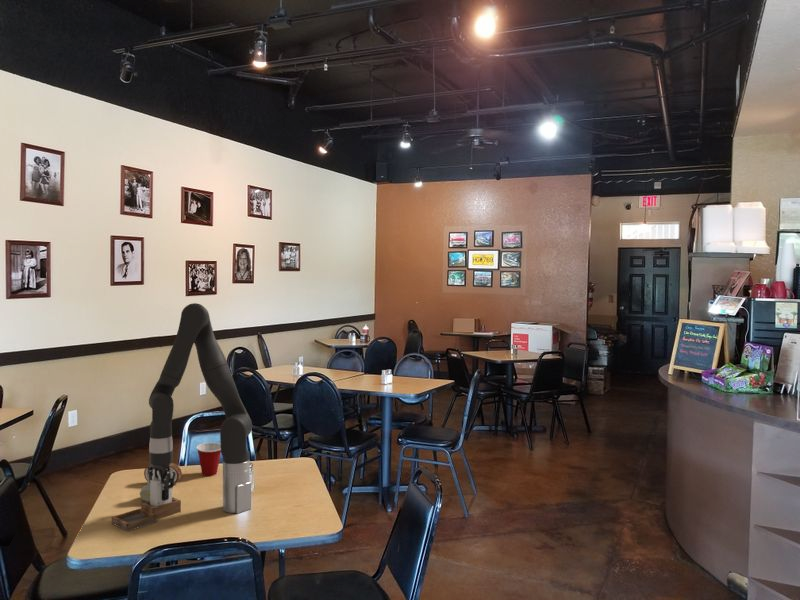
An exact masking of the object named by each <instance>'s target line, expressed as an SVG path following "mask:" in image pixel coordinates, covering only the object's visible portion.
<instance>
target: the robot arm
mask: <svg viewBox="0 0 800 600" xmlns="http://www.w3.org/2000/svg"><path fill="white" fill-rule="evenodd" d="M210 317H211V316H210V313H209V311H208V310H207V308H206V307H205V306H204V305H202V304H200V303H197V302H196V303H195V302H194V303H190V304H188V305H186V306H185V307H184V308H183V309H182V311H181V315H180V320H179V325H178V329H177V333H176V337H175V339H174V342H173V345H172V346H171V349H170V352H169V354H168V356H167V358H166V361H165V363H164V366H163V367H162V371H161V373H160V376H159V378H158V381H157V382H156V383H155V385H154V387H153V389H152V390H151V393H150V395H149V398H148V405H149V407H150V408H151V412H152V413H151V415H152V416H151V417H152V419H151V422H150V427H149V445H148V446H149V448H148V451H149V456H148V457H149V460H148V461H149V463H148V464H149V465H150V464H151V465H153V466H149V467H148V475H149V481H150V480H154V479H159V482H160V483H161V487H162V500H163V501H165V500H168V499H169V489H170V488H172V489H173V488H174V485H175V484H174V478H175V472H171V471H170V467H169V465H170V463H173V460H174V455H173V454H174V448H173V447H174V445H173V444H174V443H173V424H172V423H173V416H174V400H173V398H172V397H173V394H174V392H175V389H176V388H177V387H178V386H180V383H181V382H182V379H183V377H184V374H185V371H186V369H187V365H188V362H189V360H190V355H191V352H192V349H193V347H194V346H195V348H196V354H197V359H198V364H199V367H200V371H201V373H202V376H203V379H204V381H205V383H206V386H207V387H208V389H209V391H210V392H211V393H212V394H213V396H214V397H215V398H216V399H217V400H218V402H219V404H220V405H221V408H222V409H223V413H224V414H225V418H226V419H225V420H224V421H223V422H222V423H221V427H220V430H219V431H220V434H219V437H220V438H219V439H220V440H219V441H220V442H219V444H221V454H220V455H221V456H222V511H224V513H230V514H240V513H243V512H246V511H249V510H251V509H252V482H251V481H250V480H251V479H250V470H251V469H250V468H251V467H250V465H251V464H250V463H251V462H250V461H251V459H250V457H251V456H250V455H251V454H250V451H249V450H248V447H247V437H248V436H249V435H250V434H251V433H252V431H253V430H252V429H253V423H252V419H251V417H250V415H249V413H248V411H247V409H246V406H245V405H244V403H243V402H242V399H241V397H240V394H239V391H238V388H237V385H236V383H235V380H234V378H233V377H234V376H233V374H232V372H231V369H230V366H229V364H228V362H227V361H228V360H227V358H226V356H225V354H224V353H223V351H222V348H221V346H220V345H219V343H218V341H217V339H216V336H215V334H214V330H213V327H212V322H211V318H210ZM163 479H166V480H164V481H163ZM164 483H165V486H164ZM173 484H174V485H173Z"/></svg>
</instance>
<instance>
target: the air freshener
mask: <svg viewBox="0 0 800 600" xmlns="http://www.w3.org/2000/svg"><path fill="white" fill-rule="evenodd" d="M146 482H147V483H146V485H144V486H143V487H142V488H141V489H140V492H139V496H140V498H141V499H142V500H143V501H145V502H148V501H150V481H149V475H147V480H146Z"/></svg>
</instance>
